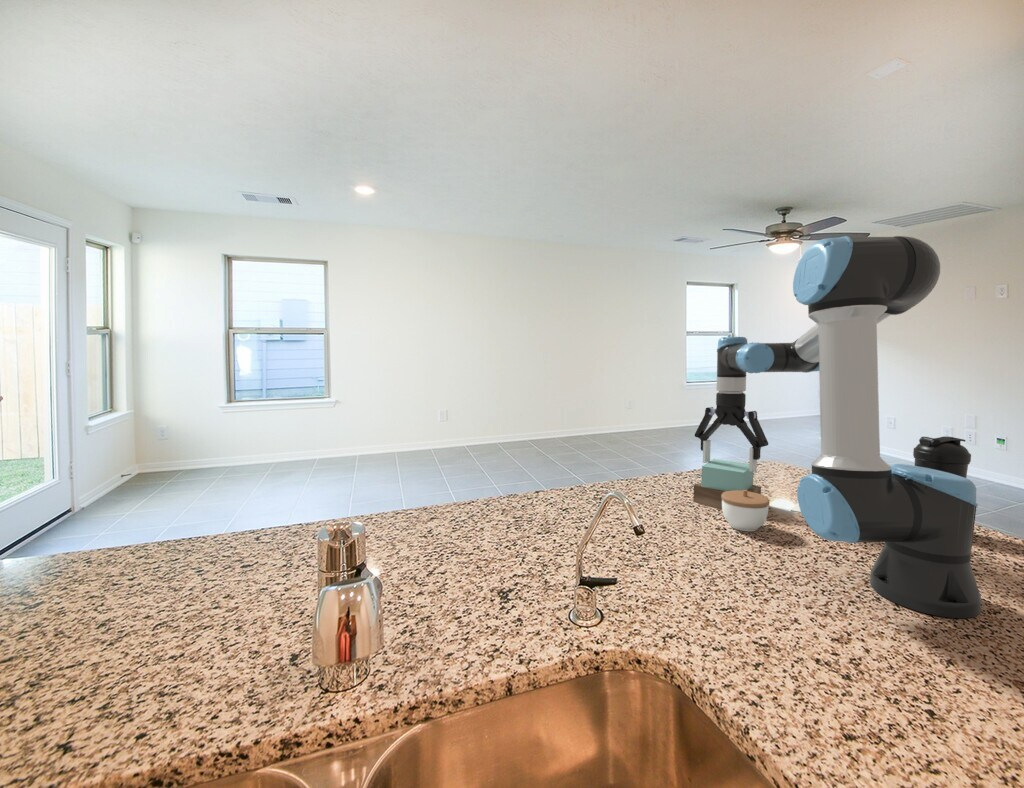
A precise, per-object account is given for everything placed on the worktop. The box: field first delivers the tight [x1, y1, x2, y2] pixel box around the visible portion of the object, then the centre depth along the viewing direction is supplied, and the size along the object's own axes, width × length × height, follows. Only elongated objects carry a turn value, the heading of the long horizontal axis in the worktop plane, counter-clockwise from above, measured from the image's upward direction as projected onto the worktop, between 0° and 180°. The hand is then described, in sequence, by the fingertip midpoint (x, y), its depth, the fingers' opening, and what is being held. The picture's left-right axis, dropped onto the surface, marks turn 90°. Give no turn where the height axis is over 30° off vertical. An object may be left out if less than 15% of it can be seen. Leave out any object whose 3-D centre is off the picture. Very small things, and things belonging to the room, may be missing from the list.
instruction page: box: [790, 502, 802, 514], centre depth 131 cm, size 14×10×1 cm
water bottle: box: [912, 436, 972, 479], centre depth 114 cm, size 10×10×23 cm
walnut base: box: [692, 482, 762, 510], centre depth 136 cm, size 13×13×5 cm
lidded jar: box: [721, 490, 770, 532], centre depth 118 cm, size 11×11×9 cm
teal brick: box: [700, 458, 755, 491], centre depth 136 cm, size 11×11×6 cm
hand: (728, 466), depth 135 cm, fingers open, 13 cm apart
